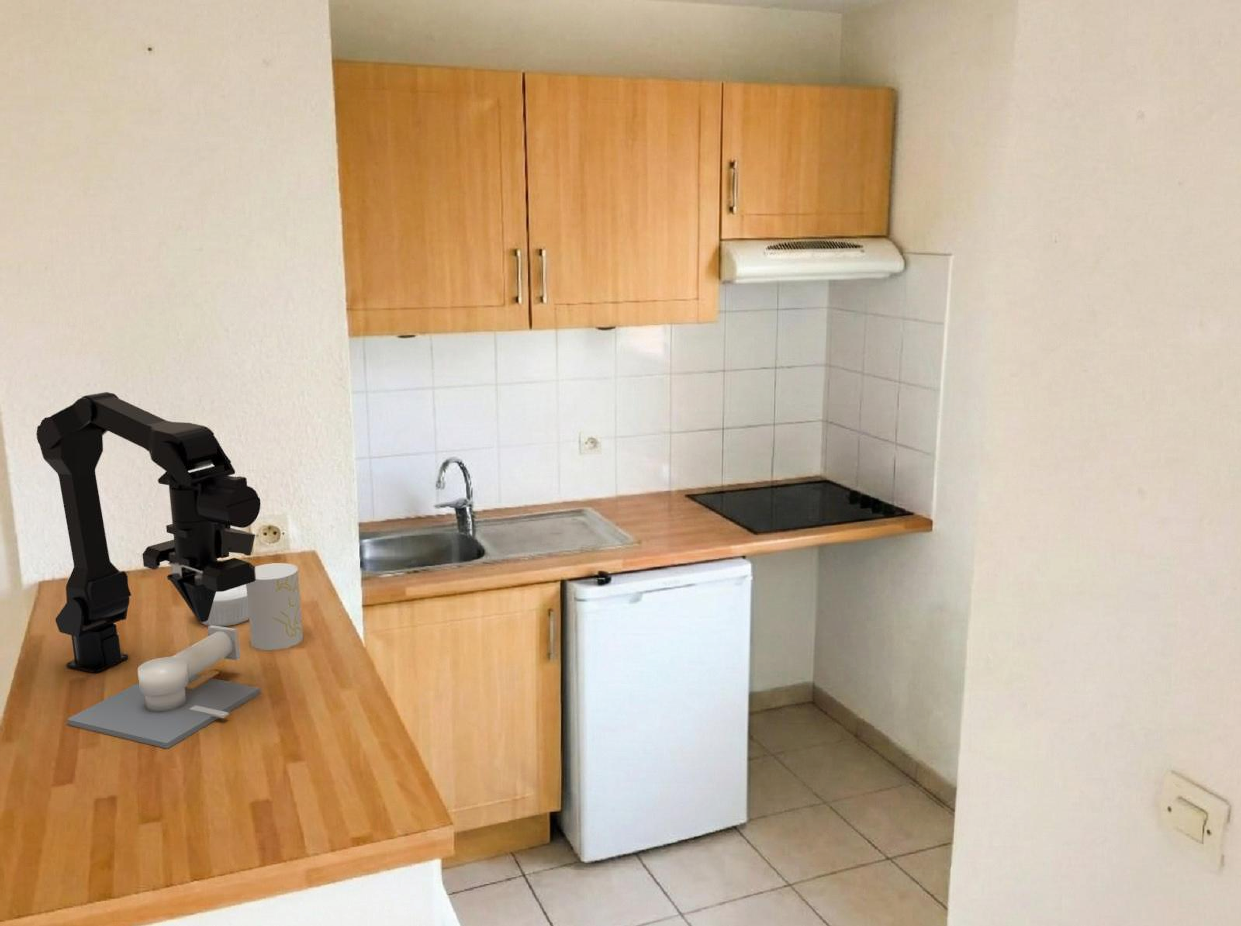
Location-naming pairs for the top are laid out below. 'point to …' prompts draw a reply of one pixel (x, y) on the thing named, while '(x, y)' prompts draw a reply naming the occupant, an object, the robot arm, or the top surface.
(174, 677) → the elbow
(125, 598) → the robot arm
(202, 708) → the grey square panel
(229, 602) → the ramekin
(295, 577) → the cup
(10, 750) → the top surface
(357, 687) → the top surface
